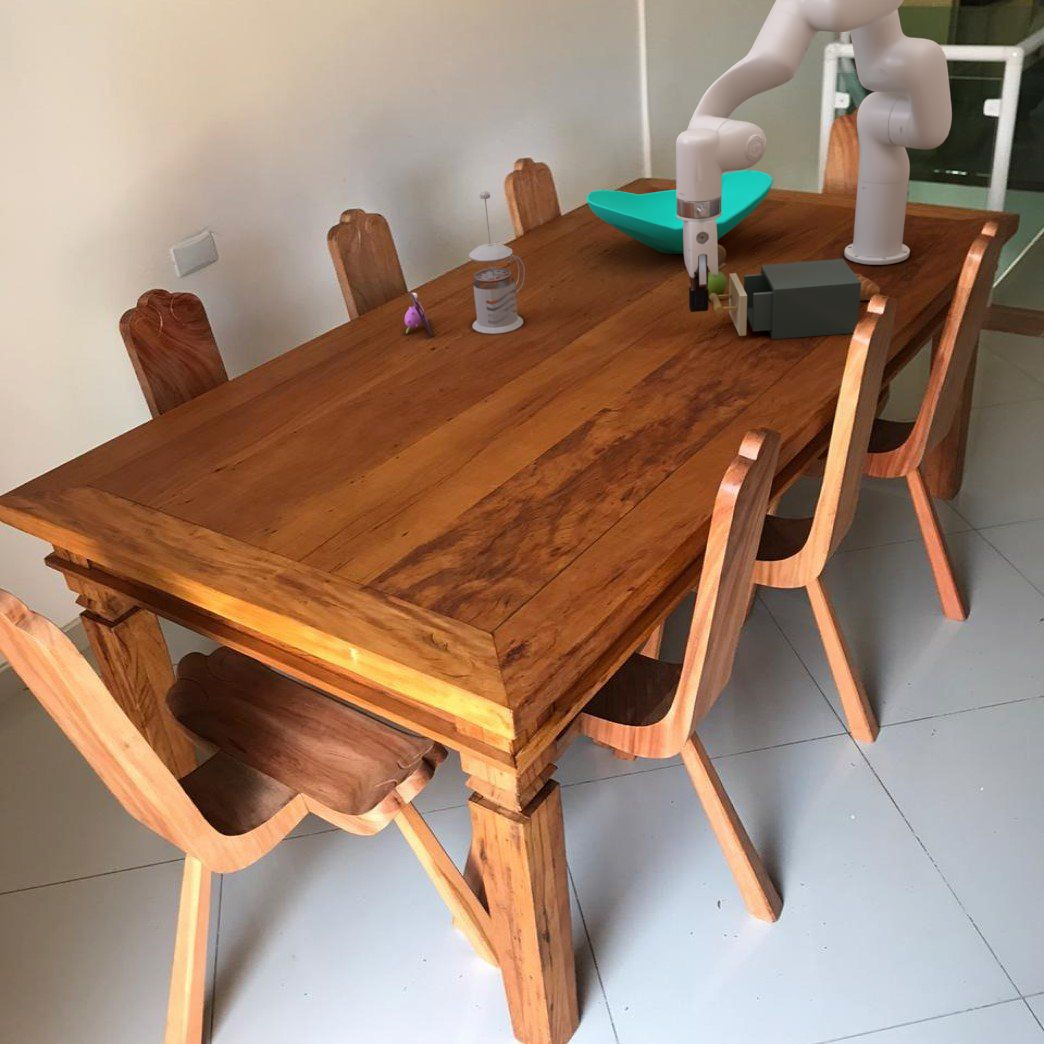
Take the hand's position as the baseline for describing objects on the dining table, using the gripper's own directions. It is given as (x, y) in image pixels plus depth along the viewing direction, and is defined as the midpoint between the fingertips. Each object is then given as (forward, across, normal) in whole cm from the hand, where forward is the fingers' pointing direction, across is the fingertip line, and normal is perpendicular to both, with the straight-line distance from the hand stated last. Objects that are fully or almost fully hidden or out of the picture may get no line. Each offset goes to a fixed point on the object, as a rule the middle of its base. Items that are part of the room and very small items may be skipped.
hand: (698, 309), depth 195 cm
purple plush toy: (+4, +11, +52) cm, 53 cm away
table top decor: (+4, +46, -2) cm, 46 cm away
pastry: (+4, +12, -30) cm, 33 cm away
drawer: (+3, 0, -11) cm, 12 cm away
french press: (+4, +12, +36) cm, 38 cm away
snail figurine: (+4, +16, -4) cm, 17 cm away
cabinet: (+4, 0, -19) cm, 20 cm away
